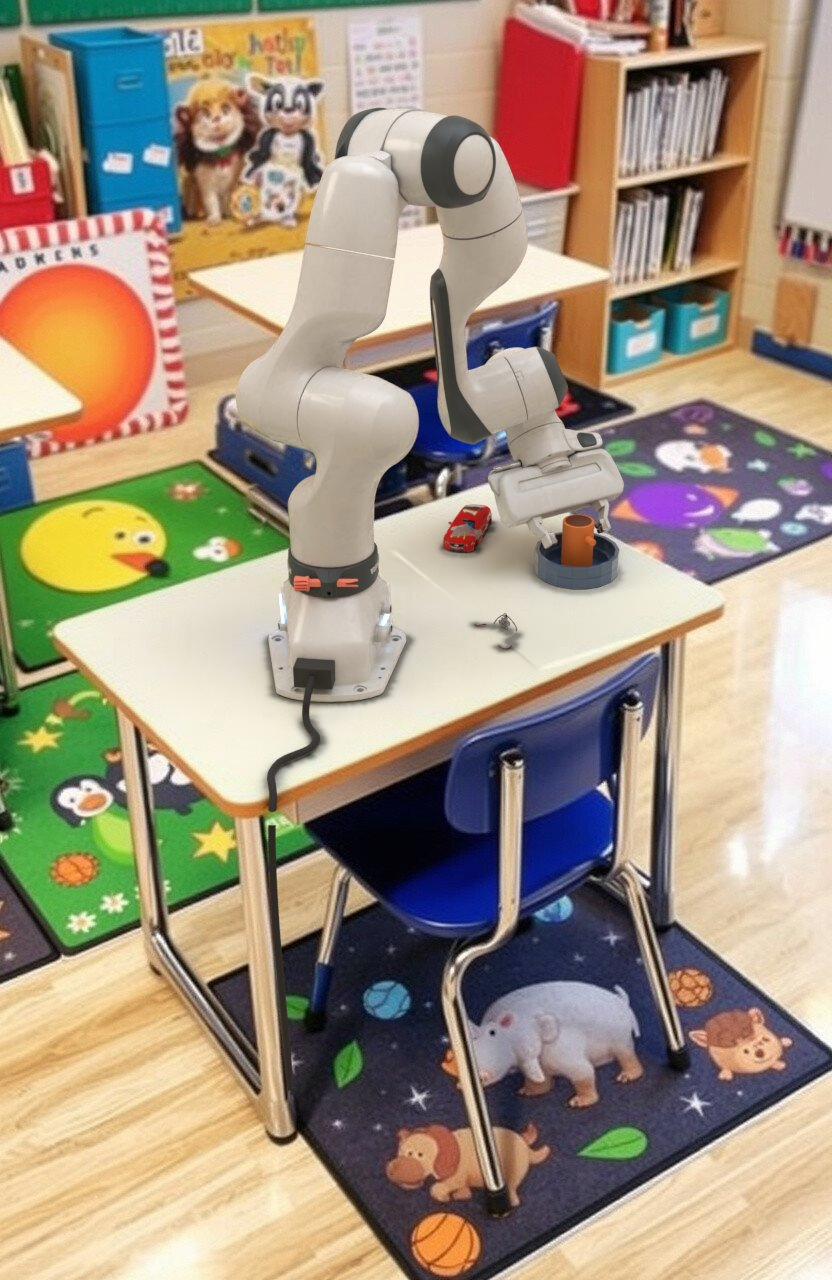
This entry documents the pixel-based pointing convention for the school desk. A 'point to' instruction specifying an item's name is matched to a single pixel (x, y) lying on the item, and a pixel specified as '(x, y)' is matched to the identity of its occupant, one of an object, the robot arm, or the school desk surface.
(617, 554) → the bowl
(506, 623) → the pendant
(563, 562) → the orange cylinder with nub
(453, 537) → the race car
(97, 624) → the school desk surface
